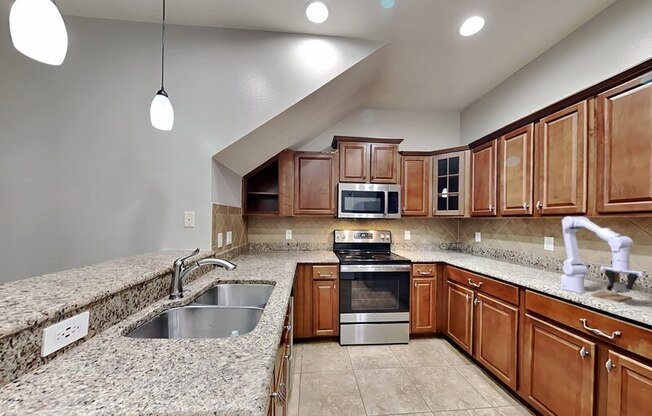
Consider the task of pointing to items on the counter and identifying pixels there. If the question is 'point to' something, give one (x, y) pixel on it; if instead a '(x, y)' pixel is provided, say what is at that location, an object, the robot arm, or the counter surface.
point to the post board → (611, 296)
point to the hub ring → (620, 287)
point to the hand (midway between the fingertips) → (621, 287)
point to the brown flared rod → (617, 278)
